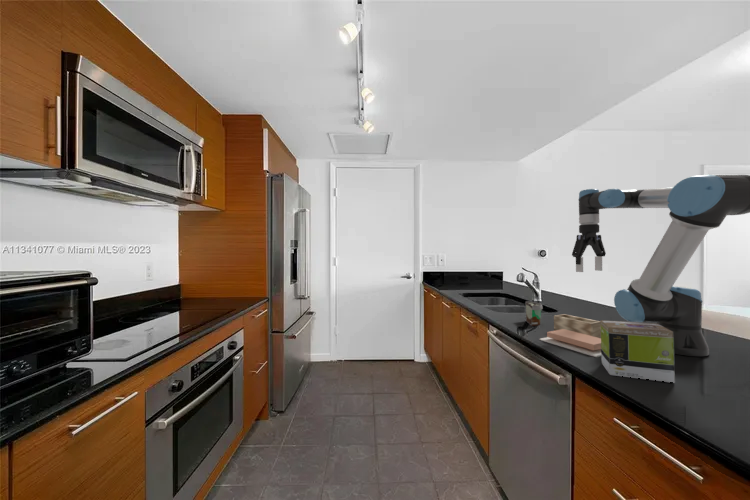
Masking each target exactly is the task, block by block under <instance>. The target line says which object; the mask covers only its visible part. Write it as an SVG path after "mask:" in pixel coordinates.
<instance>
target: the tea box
mask: <svg viewBox="0 0 750 500" xmlns="http://www.w3.org/2000/svg"><path fill="white" fill-rule="evenodd" d="M600 321H601V356H600V358H601V364H602V366H603V367H604V369H605V370H606V371H607V373H608V374H609V375H610V376H615V377H616V376H617V377H622V376H623V378H630V377H631V378H632V379H638V378H640V380H646V379H649V380H648V381H655V380H656V382H662V381H664V382H665V383H670V382H673V383H672V384H675V383H676V374H675V368H676V367H675V354H674V337H673V331H671V330H669V329H667V328H665V327H663V326H661V325H659V324H657V323H656V322H654V323H653V322H640V323H639V322H630V321H620V320H619V321H618V320H605V319H604V320H600ZM631 378H630V379H631Z"/></svg>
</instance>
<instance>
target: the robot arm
mask: <svg viewBox="0 0 750 500" xmlns="http://www.w3.org/2000/svg"><path fill="white" fill-rule="evenodd" d="M578 195H579V196H578V217H579V218H578V223H579V225H578V234H577V235H576V240H575V242H574V246H573V248H572V249H573V250H572V253H571V256H572V258H575V272H576V273H584V257H583V255H584V253H585V251H586V249H587V247H588V246H590V247H591V249H592V250H593V252H594V254H595V255H596V256H594V270H595V271H597V272H598V271H599V272H600V271H601V272H602V271H603V257H606V250H605V247H604V243H603V240H602V235H601V234H598V233H600V225H599V224H600V210H604V209H605V210H606V209H668V210H669V211H670V212H669V213H668V215H669V217H670V219H671V222H670V224H669V226H668V227H667V229H666V231H665V233H664V235H663V236H662V238H661V239H660V242H659V244H658V245H657V247H656V249H654V250H655V251H653V254H652V255H651V257H650V259H649V261H648V262H647V265H646V267H644V270H643V271H642V274H641V275H640V277H639V278H637V279H636V278H635V279H633V280H632V281H631V282H630V284H629V285H628V287H627V289H626V288H625V289H624V288H623V289H620V290H618V291H617V292H615V295H614V299H613V301H614V302H613V303H614V307H615V310H616V312H617V313H618V315H619V316H620V317H621V318H622V319H624V320H626V322H637V323H653V322H654V323H656V324H659V325H661V326H663V327H665V328H667V329H669V330H671V331H673V337H674V355H675V354H676V355H679V356H680V355H682V356H685V357H687V356H689V357H707V356H709V355H710V348H709V345H708V342H707V341H706V338H705V336H704V334H703V331H702V328H703V327H702V324H703V323H702V321H703V320H702V319H703V318H702V317H703V313H702V312H703V300H702V293H701V291H700V290H699V289H696V288H691V287H690V288H689V287H681V286H674V284H675V283H676V282H677V280H678V278H679V277H680V275H681V274H682V272H683V270H684V269H685V267H686V266H687V264H688V263H689V261H690V260H691V258H692V257H693V255H694V254H695V252H696V250H698V247H699V246H700V244H701V243H702V241H703V239H704V238H705V237H706V235H707V233H709V231H710V230H712V229H716V228H720V226H721V224H722V223H723V222H724V220H725V218H726V217H727V216H739V215H745V214H749V213H750V175H749V174H701V175H692V176H689V177H686V178H684V179H682V180H680V181H679V182H678V183H676V184H675V185H674V186H673V187H662V188H661V187H660V188H648V189H647V188H645V189H619V188H608V189H604V190H601V191H600V190H599V189H598V188H589V189H582V190H581V191H579V193H578Z"/></svg>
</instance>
